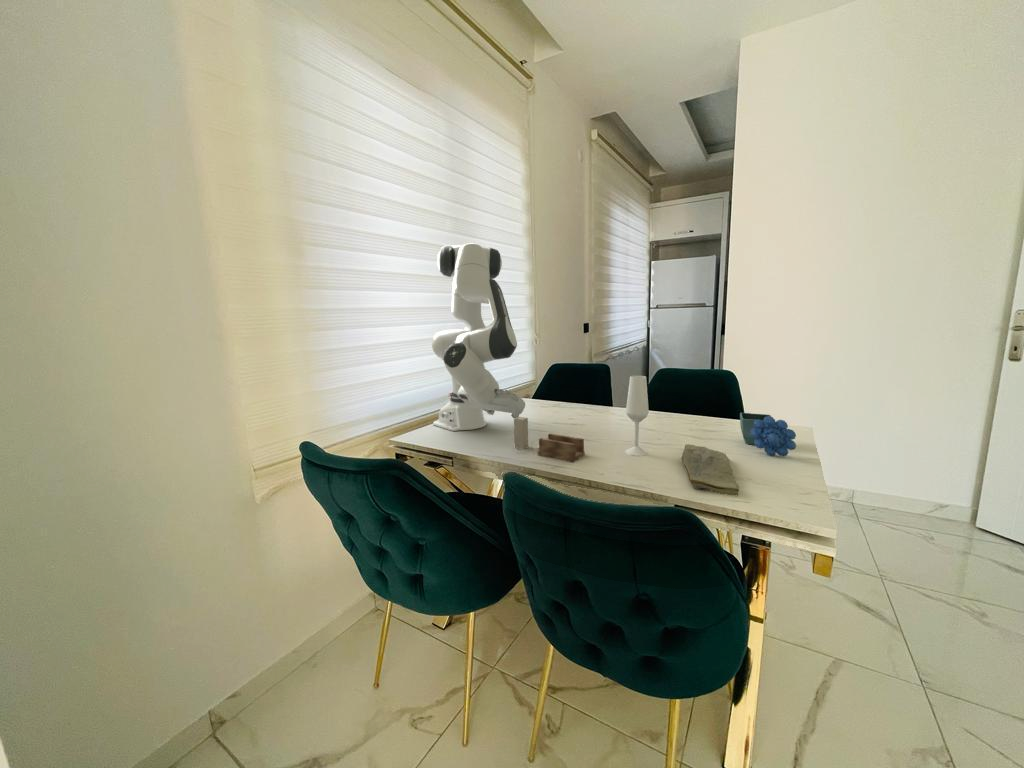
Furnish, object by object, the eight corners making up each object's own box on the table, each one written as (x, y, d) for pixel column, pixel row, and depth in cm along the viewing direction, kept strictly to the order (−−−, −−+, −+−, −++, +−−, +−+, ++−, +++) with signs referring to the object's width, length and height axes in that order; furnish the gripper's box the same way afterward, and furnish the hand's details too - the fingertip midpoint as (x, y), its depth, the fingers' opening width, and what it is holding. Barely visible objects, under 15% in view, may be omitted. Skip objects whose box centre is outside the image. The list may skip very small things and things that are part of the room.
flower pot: (772, 448, 123) (774, 420, 122) (740, 445, 127) (741, 418, 126) (768, 440, 131) (770, 414, 130) (737, 437, 135) (739, 412, 133)
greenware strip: (514, 447, 131) (513, 418, 130) (519, 445, 134) (519, 416, 132) (523, 449, 129) (522, 419, 128) (528, 446, 132) (527, 417, 130)
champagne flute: (647, 456, 119) (649, 378, 115) (624, 454, 121) (625, 378, 117) (647, 449, 125) (649, 375, 122) (625, 448, 128) (627, 375, 124)
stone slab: (723, 446, 119) (744, 481, 91) (722, 459, 119) (742, 498, 92) (679, 442, 123) (685, 475, 95) (678, 455, 124) (684, 491, 96)
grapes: (748, 457, 117) (751, 417, 115) (748, 450, 122) (751, 412, 120) (796, 463, 111) (800, 422, 109) (794, 456, 116) (797, 416, 114)
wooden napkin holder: (538, 455, 123) (538, 439, 122) (551, 448, 130) (550, 433, 129) (573, 462, 116) (573, 445, 115) (584, 454, 123) (584, 438, 122)
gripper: (517, 382, 108) (536, 409, 118) (461, 377, 120) (483, 403, 129) (508, 401, 105) (528, 427, 115) (452, 394, 117) (475, 419, 126)
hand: (504, 414), depth 122 cm, fingers open, 8 cm apart
